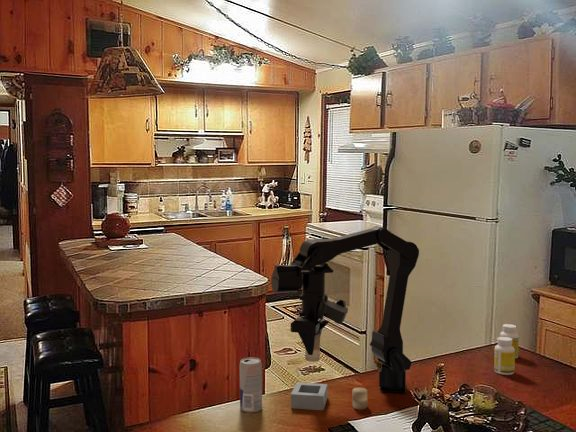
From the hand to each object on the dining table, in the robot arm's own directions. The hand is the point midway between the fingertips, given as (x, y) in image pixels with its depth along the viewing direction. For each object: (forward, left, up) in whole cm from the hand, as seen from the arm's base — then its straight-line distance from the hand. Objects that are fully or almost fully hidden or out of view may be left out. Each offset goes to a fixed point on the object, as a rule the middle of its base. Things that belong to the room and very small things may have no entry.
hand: (312, 352), depth 142 cm
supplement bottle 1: (-55, -45, -13) cm, 72 cm away
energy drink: (+14, +7, -13) cm, 20 cm away
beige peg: (0, 0, -2) cm, 2 cm away
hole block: (+1, +1, -12) cm, 13 cm away
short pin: (-12, +1, -12) cm, 17 cm away
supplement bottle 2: (-51, -30, -13) cm, 60 cm away
